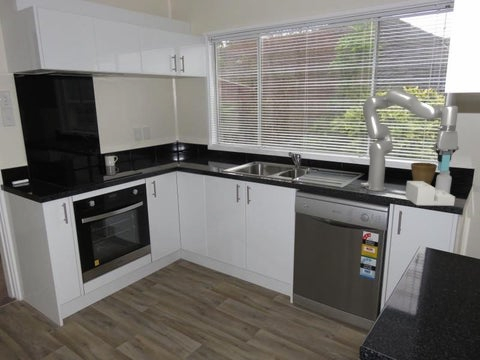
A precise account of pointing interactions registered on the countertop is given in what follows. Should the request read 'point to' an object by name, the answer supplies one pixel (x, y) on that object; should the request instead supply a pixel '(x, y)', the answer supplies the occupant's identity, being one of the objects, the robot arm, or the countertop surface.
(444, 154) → the light blue block
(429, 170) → the plant pot
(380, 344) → the countertop surface
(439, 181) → the pill bottle
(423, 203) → the console
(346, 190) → the countertop surface
